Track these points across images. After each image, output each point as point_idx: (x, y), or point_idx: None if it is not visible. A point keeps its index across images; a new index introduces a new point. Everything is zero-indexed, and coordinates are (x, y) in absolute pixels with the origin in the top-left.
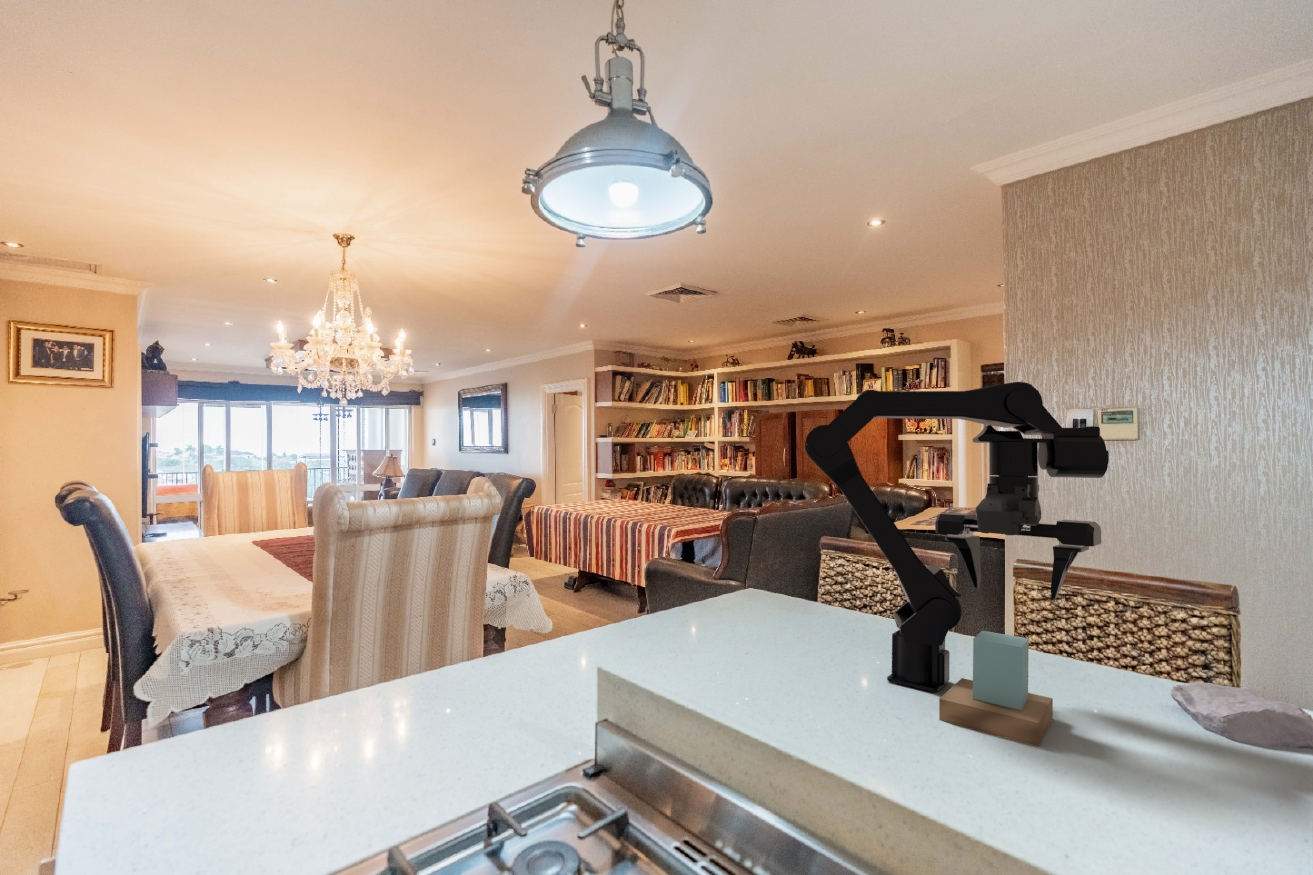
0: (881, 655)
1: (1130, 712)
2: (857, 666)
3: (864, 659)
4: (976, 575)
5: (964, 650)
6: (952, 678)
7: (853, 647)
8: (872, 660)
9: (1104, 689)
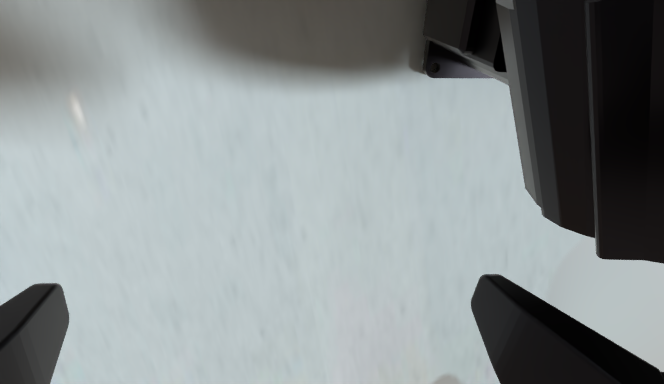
0: None
1: (14, 161)
2: None
3: None
4: (532, 321)
5: (412, 326)
6: (415, 110)
7: None
8: None
9: (120, 283)
